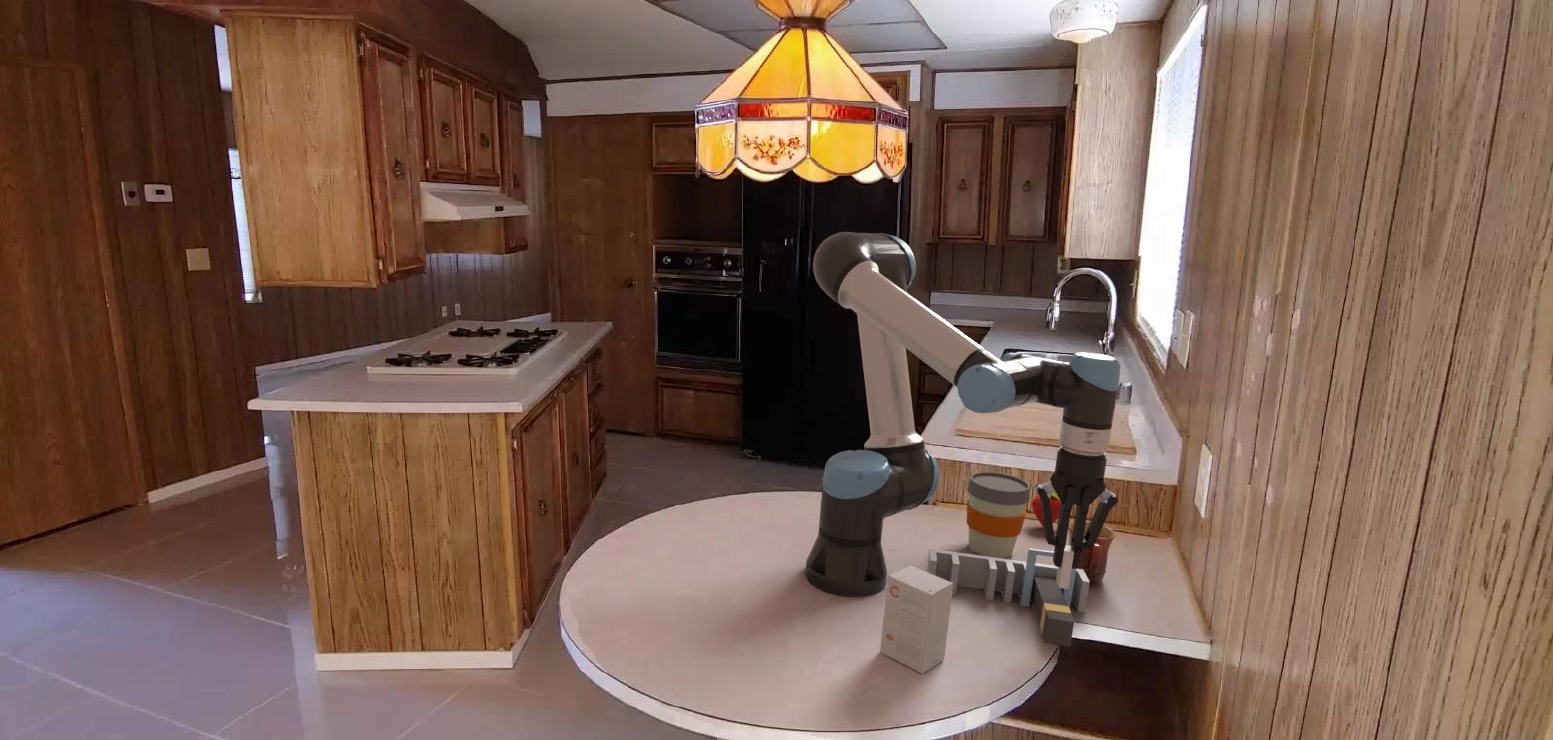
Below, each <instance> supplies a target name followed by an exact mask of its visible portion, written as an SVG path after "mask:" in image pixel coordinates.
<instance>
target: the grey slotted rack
mask: <svg viewBox="0 0 1553 740" xmlns="http://www.w3.org/2000/svg"><path fill="white" fill-rule="evenodd" d="M1026 563H1027V561H1022V560H1015V559H1008V558H994V557H987V556H982V555H979V554H971V553H965V552H956V551H949V550H942V549H933V548H929V550H928V557H927V565H926V572H927V573H930V574H932V575H935V576H937V577H940V578H942V579H944V580H947V581H949V582H952V583H953V590H952V595H954V596H956V595H957V593H956V592H957V587H958V586H960V587H967V588H973V589H980V590H981V589H982V590H983V591H984V595H986V596H985V599H986V600H989V599H990V601H994V595H995V592H1001V596H1002V595H1003V596H1002V599H1004V600H1003V602H1004V601H1005V603H1010V602H1011V603H1012V597H1013V596H1012V595H1013V594H1015V593H1016V594H1017V595H1018V596H1019V595H1020V597H1019V600H1020V599H1021V596H1022V590H1023V583H1024V576H1025V570H1026ZM1057 571H1058V567H1056V566H1055V565H1053V564H1044V563H1039V562H1036V563H1035V570H1034V576H1039V577H1046V578H1053V579H1056V577H1057ZM1034 576H1033V579H1034ZM1089 584H1090V582H1089V580H1088V578H1087V576H1086V574H1085V572H1084V570H1083V569H1076V573H1075V579H1074V585H1073V591H1072V597H1071V602H1072V603H1073V605H1074V607H1075V609H1076V611H1077V613H1081V614H1085V611H1086V607H1087V601H1088V595H1089V588H1090V585H1089ZM1032 585H1033V583H1032ZM1060 589H1061V591H1062V593H1063V590H1064V588H1060ZM1031 592H1032V589H1031Z"/></svg>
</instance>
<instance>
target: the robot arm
mask: <svg viewBox="0 0 1553 740" xmlns="http://www.w3.org/2000/svg"><path fill="white" fill-rule="evenodd" d="M916 265H917V263H916V259H915V256H914V253H913V251H912V249H911V248H910V246H909V245H908V244H907V243H906V242H905V241H904V240H902V239H901V238H899V237H898V236H895V235H890V234H887V233H883V232H879V233H878V232H877V233H876V232H875V233H872V232H871V233H870V232H869V233H868V232H850V231H843V232H842V231H841V232H837V233H834V234H832V235H830V236H828V237H827V238H826V239H824V240H822V242H821V243H820V244H819V246H818V247H817V249H816V251H815V254H814V256H813V262H812V269H813V270H812V271H813V274H814V277H815V281H816V283H817V284H818V285H819V287H820V289H822V291H823V292H824V293H825V294H827V296H829V298H831V299H832V300H833V301H834V302H836V303H837V304H838V305H840V306H841V307H843V308H844V309H851V310H852V311H853V312H855V313H856V316H857V324H858V333H859V334H858V335H859V342H860V349H861V350H860V351H861V360H862V369H863V375H864V377H863V378H864V385H865V394H866V404H867V410H868V411H867V412H868V419H869V428H870V436H869V438H868V439H867V441H866V442H865V443H864V449H856V450H852V449H849V450H844V451H840V452H838V453H835V454H834V455H832V456H830V458H829V459H828V460H827V461H826V463H825V467H824V473H823V476H822V481H821V484H822V485H821V486H822V489H821V501H820V511H819V521H818V534H817V537H816V539H815V540H814V544H813V545H812V548H811V550H810V552H809V554H808V556H807V559H806V562H805V572H804V573H805V577H806V579H807V581H808V582H809V583H811V584H812V585H813V586H815V587H816V588H818V589H820V590H822V591H824V592H827V593H830V594H834V595H839V596H846V597H864V596H870V595H873V594H877V593H878V592H881V591H882V590H884V589H885V587H886V586H887V585H886V583H887V579H888V576H887V575H888V568H887V565H886V561H885V555H884V550H883V547H882V535H883V527H884V520H885V519H886V518H889V517H891V516H894V515H897V514H900V513H903V512H905V511H910V510H913V509H916V508H918V507H919V506H921V505H923V504H924V503H926V502H928V501H929V500H931V498H932V497H933V496H934V494H935V492H936V491H937V488H938V487H939V481H940V471H939V465H938V462H937V460H936V458H935V457H934V456H932V454H931V452H930V451H929V450H928V449H927V448H926V446H925V439H924V437H923V436H921V435H920V434H918V433H917V431H916V430H915V429H916V428H915V420H914V410H913V401H912V394H911V384H910V376H909V368H908V367H909V366H908V356H907V350H908V351H909V352H911V353H912V354H913V355H914V356H916V357H917V358H918V359H920V360H921V361H922V362H924V363H925V364H926V365H927V366H929V367H930V368H932V369H933V370H934V371H935V372H936V373H938V374H939V375H940V376H942V377H943V378H944V379H946V380H947V381H948V382H950V383H951V384H952V385H953V386H955V387H956V388H957V395H958V397H959V398H960V401H961V403H962V404H963V406H964V407H965V408H967V410H970V411H971V412H974V413H977V414H992V413H998V412H1001V411H1004V410H1007V409H1011V408H1014V407H1018V406H1024V405H1027V404H1030V403H1031V404H1032V403H1035V404H1042V405H1047V406H1051V407H1055V408H1061V409H1063V410H1062V412H1063V413H1062V419H1061V420H1062V422H1061V427H1060V434H1059V441H1058V443H1059V444H1060V446H1059V447H1058V448H1057V453H1056V460H1055V465H1054V467H1055V468H1054V472H1053V473H1052V475H1051V476H1050V478H1049V481H1047V482H1044V483H1042V484H1041V483H1036V484H1035V490H1036V493H1037V494H1038V495H1039V496H1040V501H1041V509H1042V518H1043V526H1042V528H1043V533H1044V538H1045V540H1046V542H1047V544H1048V545H1050V546H1051V545H1052V546H1053V547H1054V550H1053V552H1054V556H1053V557H1052V561H1053V564H1054V566H1056V567H1058V571H1057V577H1056V582H1057V584H1058V586H1059V588H1065V589H1068V588H1069V582H1070V575H1071V569H1077V567H1078V564H1079V558H1080V553H1082V552H1083V550H1084V549H1089V550H1091V549H1093V547H1094V545H1095V543H1096V541H1097V538H1098V536H1099V534H1100V532H1101V529H1102V527H1103V526H1105V522H1106V521H1107V518H1108V516H1109V513H1110V511H1111V510H1112V509H1113V508H1114V507H1115V506H1116V505H1117V504H1118V502H1119V498H1118V497H1117V496H1116V494H1115V493H1114V492H1112V491H1110V490H1108V489H1107V487H1106V482H1105V479H1104V478H1105V473H1106V467H1107V460H1108V456H1107V454H1106V452H1108V451H1109V448H1110V447H1109V446H1110V440H1111V434H1112V426H1113V421H1114V416H1115V415H1114V414H1115V410H1116V404H1117V400H1118V399H1117V398H1118V392H1119V390H1120V375H1121V362H1120V360H1118V359H1117V358H1116V357H1113V356H1110V355H1108V354H1107V355H1106V354H1101V353H1092V352H1075V353H1074V354H1072V356H1071V359H1070V360H1069V362H1067V361H1059V360H1055V359H1049V358H1046V357H1045V358H1044V357H1040V356H1035V355H1031V354H1029V353H1025V352H1024V353H1016V352H1008V353H1005V354H1003V355H1002V356H1001V358H998V357H996V356H995V355H993V354H992V353H991V352H989V351H988V350H986V349H985V348H984V347H983V346H981V345H980V344H978V343H977V342H975V341H974V340H973V339H971V338H970V337H968V336H967V335H966V334H964V332H962V331H960V330H959V329H958V328H956V327H955V326H953V325H952V324H950V323H949V322H948V321H946V320H945V319H944V318H943V317H941V316H940V315H938V314H937V313H935V312H934V311H932V310H931V309H930V308H928V307H927V306H925V305H924V304H923V303H922V302H920V301H919V300H917V299H916V298H915V297H913V296H912V295H910V294H909V293H908V288H909V287H910V286H911V285H912V281H913V279H915V275H916V270H917V269H916V267H917V266H916ZM1052 489H1053V490H1052ZM1053 491H1055V494H1057V495H1058V496H1057V497H1059V498H1060V511H1059V518H1058V519H1057V523H1056V525H1057V526H1056V531H1055V532H1054V523H1053V522H1052V513H1051V504H1050V500H1049V497H1050V496H1051V495H1052V492H1053ZM1038 495H1037V496H1038ZM1097 498H1099V500H1100V501H1099V502H1098V504H1097V507H1096V508H1095V510H1094V514H1093V515H1092V518H1091V521H1089V522H1090V525H1089V527H1088V529H1087V531H1086V534H1085V536H1084V531H1085V525H1086V521H1087V519H1088V518H1087V517H1088V513H1089V511H1090V505H1091V504H1092V503H1093V502H1095V500H1097ZM1073 506H1075V507H1076V509H1075V513H1074V520H1073V521H1074V527H1073V533H1072V540H1071V544H1072V545H1071V546H1069V544H1068V545H1067V539H1068V534H1069V530H1068V527H1069V523H1070V520H1071V513H1072V511H1073Z"/></svg>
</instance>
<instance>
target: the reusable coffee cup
mask: <svg viewBox="0 0 1553 740" xmlns="http://www.w3.org/2000/svg"><path fill="white" fill-rule="evenodd" d="M968 480H969V481H968V485H967V492H968V500H967V501H966V524H967V526H968V548H969V550H970V551H972V552H973V553H975V554H976V555H979V556H987V557H994V558H1002V559H1008V558H1009V556H1010V557H1011V556H1012V555H1013V552H1014V549H1015V546H1016V542H1017V539H1018V536H1019V535H1020V534H1021V532H1022V528H1023V526H1024V523H1025V519H1026V515H1027V510H1026V509H1027V505H1028V503H1029V502H1030V499H1031V485H1030V483H1029V482H1027V481H1026V480H1024V479H1022V478H1020V477H1018V476H1014V475H1010V474H1009V473H1008V474H1006V473H1003V472H994V471H993V472H992V471H977V472H975V473H972V474H971V475H970V478H969V479H968ZM1007 557H1008V558H1007Z"/></svg>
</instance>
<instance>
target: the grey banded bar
mask: <svg viewBox="0 0 1553 740" xmlns="http://www.w3.org/2000/svg"><path fill="white" fill-rule="evenodd" d="M1031 600H1032V601H1031ZM1030 601H1031V605H1032V607H1034V608H1033V610H1035V611H1034V614H1035V613H1036V614H1035V618H1036V619H1037V623H1038V625H1039V629H1040V633H1041V635H1042V638H1043V641H1044V644H1046V645H1047V644H1048V645H1055V646H1061V647H1068V648H1071V645H1072V644H1071V643H1072V639H1073V633H1074V625H1075V621H1074V618H1073V615H1072V612H1071V609H1069V606H1068V605H1067V603H1066V601H1065V598H1064V596H1063V593H1062V591H1061V589H1060V588H1059V586H1058V584H1057V582H1056V579H1053V578H1046V577H1039V576H1034V579H1033V585H1032V592H1031V596H1030Z"/></svg>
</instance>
